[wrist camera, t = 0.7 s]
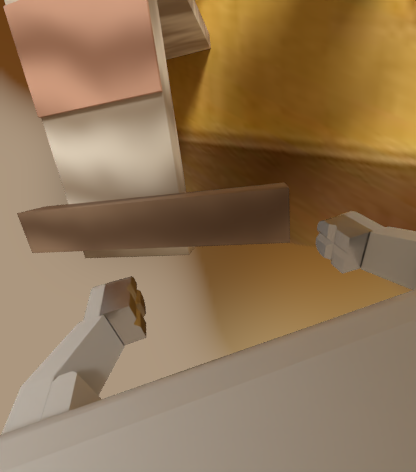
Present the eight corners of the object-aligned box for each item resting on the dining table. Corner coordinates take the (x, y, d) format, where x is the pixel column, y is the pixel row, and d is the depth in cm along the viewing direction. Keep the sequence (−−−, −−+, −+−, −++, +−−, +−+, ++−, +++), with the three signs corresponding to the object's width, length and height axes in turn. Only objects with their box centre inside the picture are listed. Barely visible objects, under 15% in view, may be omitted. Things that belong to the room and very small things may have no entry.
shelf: (143, 51, 41) (-31, -99, 16) (209, 34, 38) (116, -180, 14) (170, 207, 49) (83, 259, 25) (226, 202, 46) (188, 256, 22)
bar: (44, 206, 24) (17, 213, 21) (284, 182, 18) (288, 187, 16) (57, 242, 25) (32, 252, 23) (285, 230, 20) (289, 242, 17)
